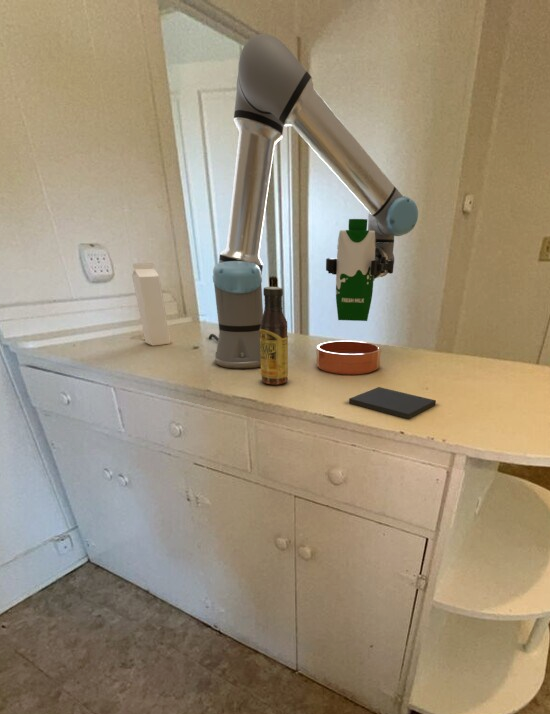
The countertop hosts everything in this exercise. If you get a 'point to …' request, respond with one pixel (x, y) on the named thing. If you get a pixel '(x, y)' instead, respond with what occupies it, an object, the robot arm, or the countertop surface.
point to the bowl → (348, 357)
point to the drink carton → (355, 271)
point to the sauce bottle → (273, 339)
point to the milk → (150, 304)
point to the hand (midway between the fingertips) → (351, 267)
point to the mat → (392, 402)
